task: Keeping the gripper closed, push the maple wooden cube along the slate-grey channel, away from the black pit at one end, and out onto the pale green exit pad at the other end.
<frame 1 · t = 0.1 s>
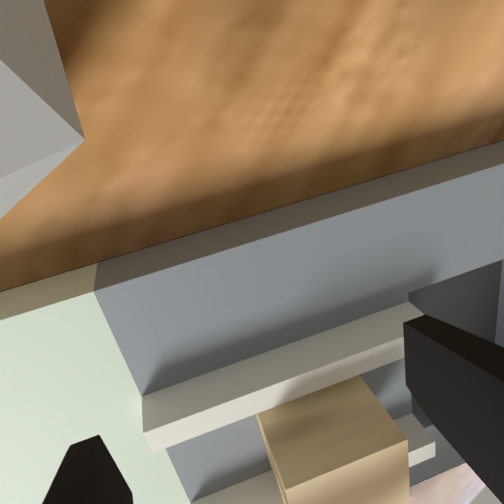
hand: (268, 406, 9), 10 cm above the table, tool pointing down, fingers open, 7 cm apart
trap deck: (272, 383, 23), on the table
maple block: (306, 410, 21), point 2 cm above the table, touching trap deck
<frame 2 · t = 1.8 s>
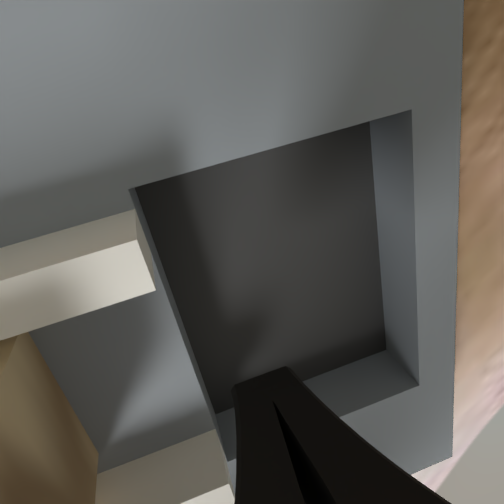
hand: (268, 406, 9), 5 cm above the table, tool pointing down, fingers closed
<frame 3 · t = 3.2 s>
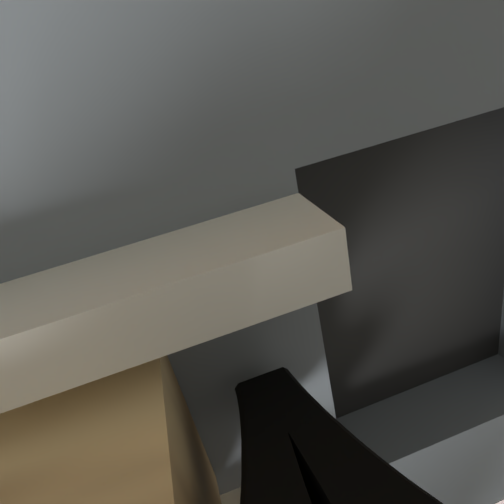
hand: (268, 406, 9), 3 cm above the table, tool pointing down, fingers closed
trap deck: (58, 389, 11), on the table
maple block: (84, 450, 9), point 3 cm above the table, touching gripper, trap deck
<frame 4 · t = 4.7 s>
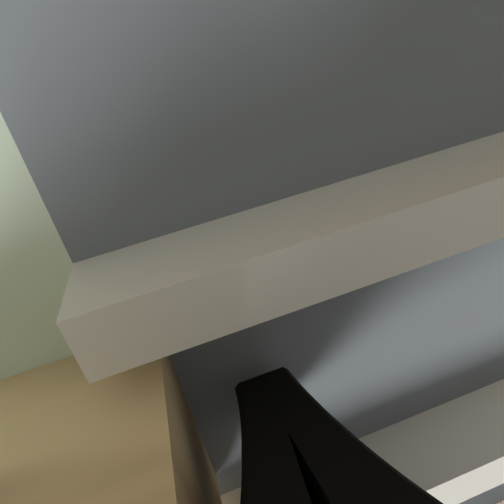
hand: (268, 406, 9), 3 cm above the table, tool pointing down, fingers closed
trap deck: (335, 293, 13), on the table
maple block: (84, 448, 9), point 3 cm above the table, touching gripper, trap deck
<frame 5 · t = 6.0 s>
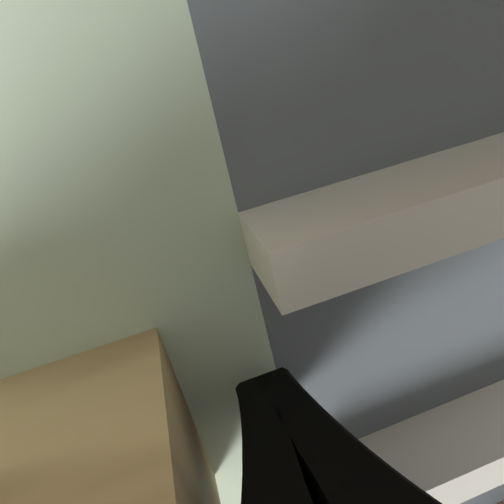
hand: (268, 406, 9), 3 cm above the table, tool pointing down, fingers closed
trap deck: (426, 262, 13), on the table
maple block: (83, 448, 9), point 3 cm above the table, touching gripper, trap deck
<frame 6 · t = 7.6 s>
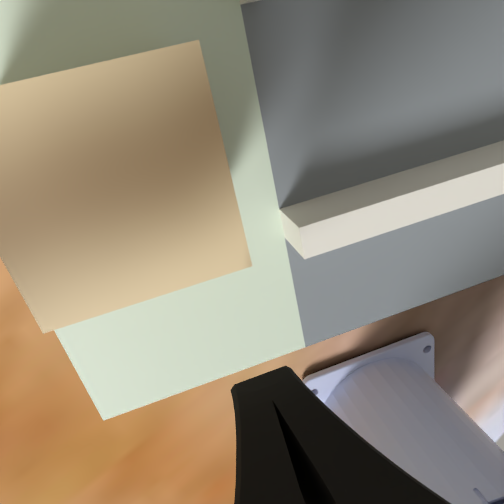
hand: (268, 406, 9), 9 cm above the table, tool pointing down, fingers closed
trap deck: (382, 74, 17), on the table
maple block: (118, 154, 13), point 2 cm above the table, touching trap deck
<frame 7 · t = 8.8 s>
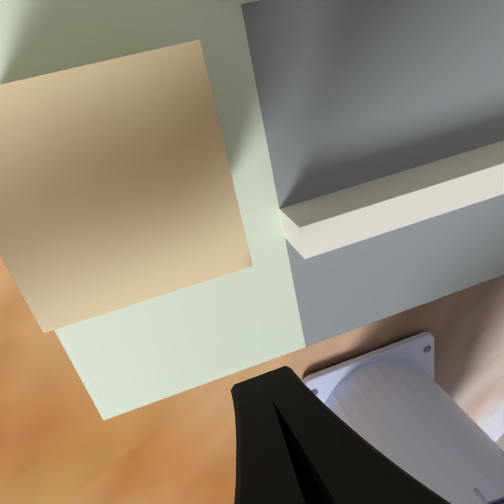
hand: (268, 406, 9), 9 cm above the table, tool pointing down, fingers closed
trap deck: (382, 74, 17), on the table
maple block: (119, 153, 13), point 2 cm above the table, touching trap deck
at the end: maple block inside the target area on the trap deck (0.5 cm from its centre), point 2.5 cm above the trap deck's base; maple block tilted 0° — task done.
